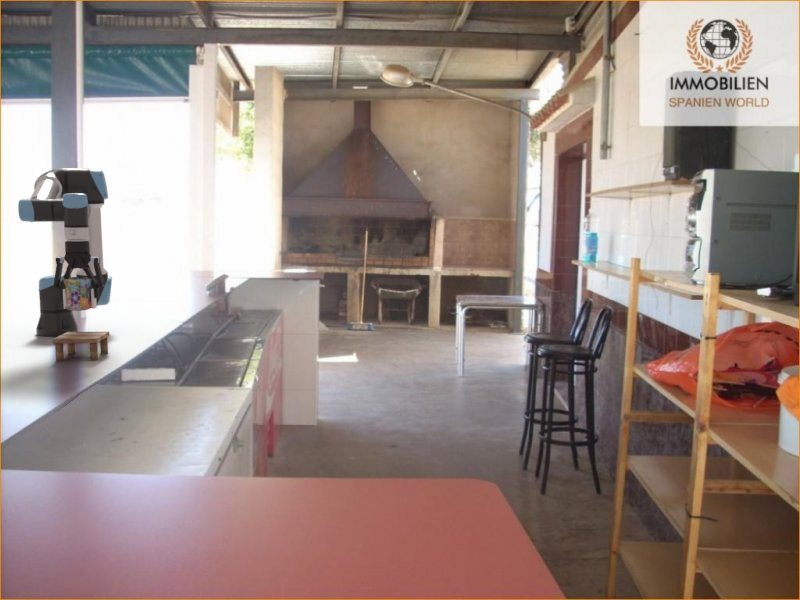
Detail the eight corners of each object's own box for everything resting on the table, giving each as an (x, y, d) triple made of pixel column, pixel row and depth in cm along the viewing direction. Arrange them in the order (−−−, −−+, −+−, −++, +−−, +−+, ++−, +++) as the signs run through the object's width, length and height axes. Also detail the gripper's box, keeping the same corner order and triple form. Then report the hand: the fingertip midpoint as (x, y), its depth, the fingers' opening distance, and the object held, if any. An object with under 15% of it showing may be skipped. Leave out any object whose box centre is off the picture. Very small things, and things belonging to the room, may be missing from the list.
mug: (94, 310, 252) (93, 279, 251) (64, 312, 248) (62, 279, 247) (92, 306, 263) (91, 275, 262) (63, 307, 259) (61, 276, 258)
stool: (68, 352, 264) (67, 331, 263) (110, 352, 265) (109, 331, 264) (53, 361, 250) (52, 339, 250) (97, 360, 252) (96, 338, 251)
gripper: (39, 240, 248) (43, 309, 251) (106, 241, 250) (109, 309, 253) (48, 239, 256) (51, 306, 259) (113, 239, 257) (116, 306, 260)
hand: (80, 307), depth 256 cm, fingers closed on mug, 8 cm apart
